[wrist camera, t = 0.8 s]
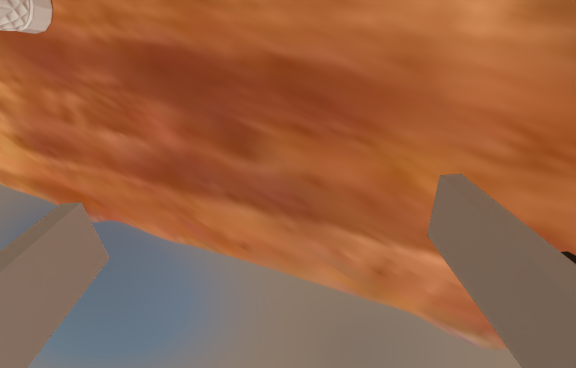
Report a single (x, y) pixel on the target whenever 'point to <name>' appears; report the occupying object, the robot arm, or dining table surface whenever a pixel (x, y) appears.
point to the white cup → (25, 15)
